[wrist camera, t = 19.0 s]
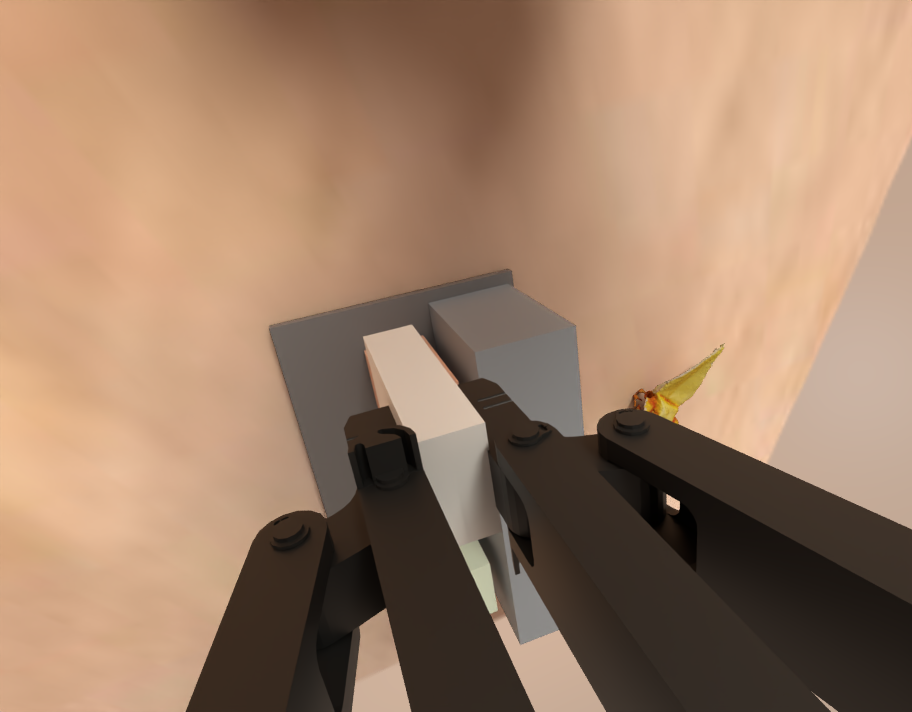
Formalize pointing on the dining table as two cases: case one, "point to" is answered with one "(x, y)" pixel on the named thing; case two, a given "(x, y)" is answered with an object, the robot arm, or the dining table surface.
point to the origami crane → (677, 389)
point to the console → (468, 358)
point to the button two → (480, 572)
